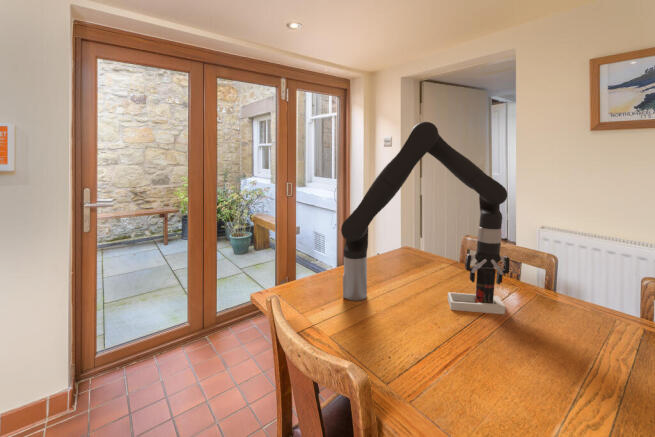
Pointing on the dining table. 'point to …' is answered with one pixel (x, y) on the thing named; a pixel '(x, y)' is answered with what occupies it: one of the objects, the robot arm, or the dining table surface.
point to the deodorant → (485, 285)
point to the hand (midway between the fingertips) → (485, 282)
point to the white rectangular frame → (474, 304)
